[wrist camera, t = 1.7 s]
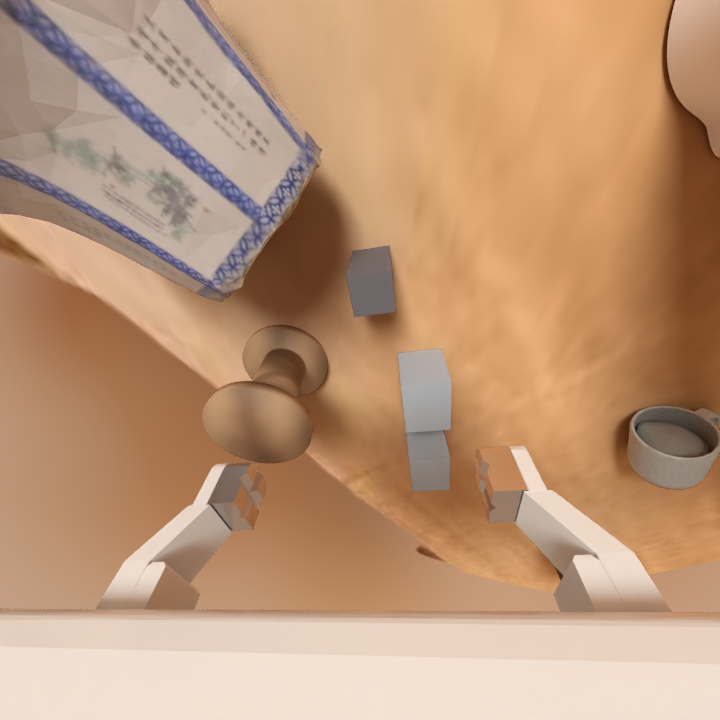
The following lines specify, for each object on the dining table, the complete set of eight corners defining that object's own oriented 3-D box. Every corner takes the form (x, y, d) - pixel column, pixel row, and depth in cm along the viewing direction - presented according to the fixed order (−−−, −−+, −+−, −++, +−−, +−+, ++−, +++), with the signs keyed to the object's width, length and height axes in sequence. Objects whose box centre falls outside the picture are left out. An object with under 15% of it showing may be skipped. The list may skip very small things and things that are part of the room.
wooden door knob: (316, 320, 33) (293, 383, 24) (335, 388, 39) (322, 460, 30) (232, 330, 35) (181, 394, 26) (262, 394, 40) (229, 466, 31)
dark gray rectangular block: (389, 245, 28) (391, 270, 23) (392, 281, 30) (395, 311, 25) (352, 251, 29) (346, 276, 23) (358, 285, 31) (354, 317, 25)
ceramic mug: (613, 451, 43) (654, 503, 37) (615, 414, 39) (661, 464, 33) (702, 432, 41) (763, 484, 34) (714, 390, 36) (786, 440, 30)
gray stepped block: (441, 348, 35) (451, 381, 30) (442, 453, 45) (449, 490, 40) (397, 353, 35) (400, 386, 30) (408, 455, 46) (412, 491, 41)
